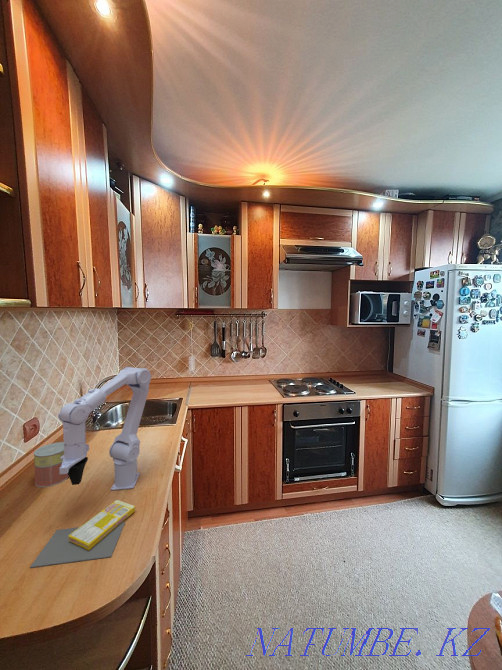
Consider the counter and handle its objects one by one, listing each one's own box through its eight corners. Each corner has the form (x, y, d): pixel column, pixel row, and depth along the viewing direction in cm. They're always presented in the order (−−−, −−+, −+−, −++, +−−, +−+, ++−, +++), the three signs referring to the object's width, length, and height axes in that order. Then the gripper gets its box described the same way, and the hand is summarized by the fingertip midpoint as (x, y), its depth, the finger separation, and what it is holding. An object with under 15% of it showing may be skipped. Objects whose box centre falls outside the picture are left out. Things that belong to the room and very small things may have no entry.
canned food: (61, 467, 112) (60, 439, 111) (76, 474, 107) (75, 445, 106) (29, 481, 102) (27, 451, 101) (44, 490, 97) (42, 458, 96)
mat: (56, 530, 78) (56, 529, 78) (125, 522, 81) (125, 521, 81) (29, 568, 66) (29, 567, 66) (111, 557, 69) (111, 556, 69)
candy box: (68, 542, 74) (88, 551, 71) (67, 535, 74) (88, 543, 71) (117, 505, 89) (136, 511, 86) (116, 498, 89) (135, 504, 86)
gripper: (72, 432, 90) (74, 471, 91) (46, 454, 76) (49, 500, 76) (95, 431, 91) (96, 469, 92) (74, 452, 77) (75, 497, 77)
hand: (76, 483), depth 84 cm, fingers closed
